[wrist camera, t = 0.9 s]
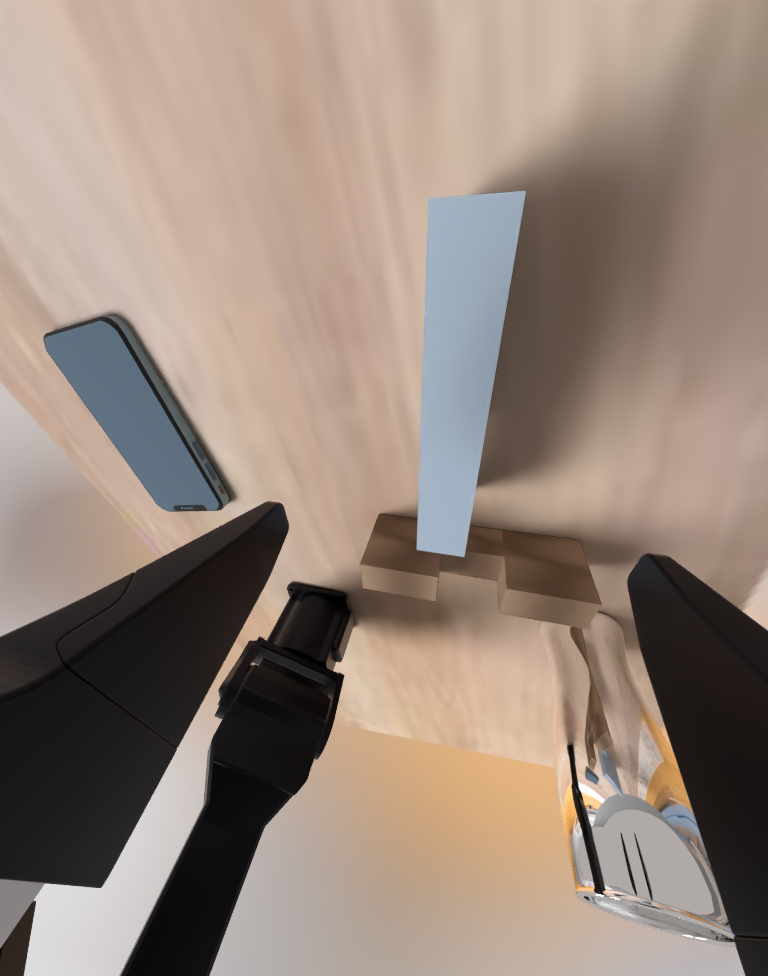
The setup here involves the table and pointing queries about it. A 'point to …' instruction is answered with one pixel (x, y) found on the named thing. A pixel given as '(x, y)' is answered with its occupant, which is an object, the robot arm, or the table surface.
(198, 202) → the table surface
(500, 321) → the pale blue upright post
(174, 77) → the table surface
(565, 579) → the tan wooden plank
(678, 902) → the beer glass
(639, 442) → the table surface
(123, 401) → the smartphone
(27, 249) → the table surface
